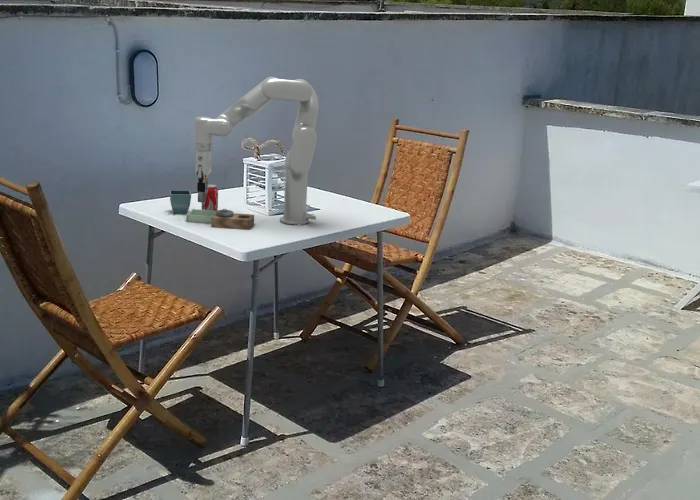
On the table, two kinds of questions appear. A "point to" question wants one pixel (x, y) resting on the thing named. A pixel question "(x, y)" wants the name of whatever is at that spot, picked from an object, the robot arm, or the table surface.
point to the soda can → (211, 198)
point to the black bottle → (202, 193)
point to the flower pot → (180, 201)
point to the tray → (200, 216)
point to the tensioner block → (232, 220)
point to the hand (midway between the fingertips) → (202, 190)
